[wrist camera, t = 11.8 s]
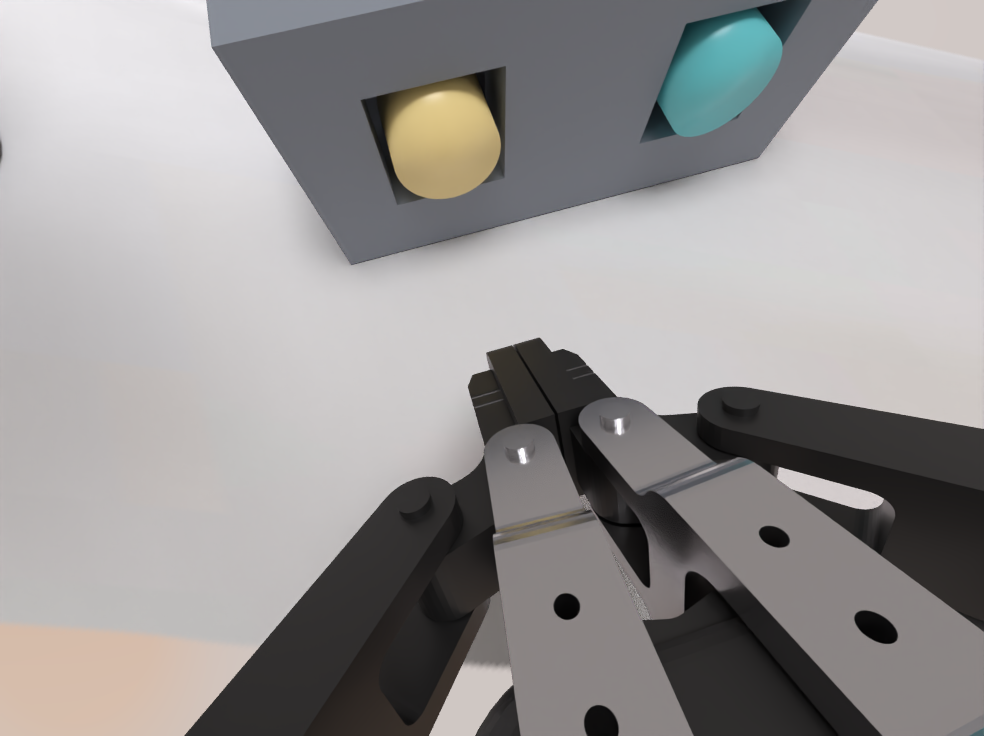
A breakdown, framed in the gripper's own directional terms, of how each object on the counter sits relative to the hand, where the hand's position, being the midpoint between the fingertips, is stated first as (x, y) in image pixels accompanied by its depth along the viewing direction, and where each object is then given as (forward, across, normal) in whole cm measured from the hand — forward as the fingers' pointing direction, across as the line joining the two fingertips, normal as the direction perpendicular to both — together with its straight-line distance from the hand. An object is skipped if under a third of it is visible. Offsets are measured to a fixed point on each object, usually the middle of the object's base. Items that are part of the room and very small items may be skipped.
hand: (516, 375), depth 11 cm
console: (+16, -6, -5) cm, 18 cm away
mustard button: (+11, 0, -5) cm, 12 cm away
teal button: (+11, -12, -5) cm, 17 cm away
